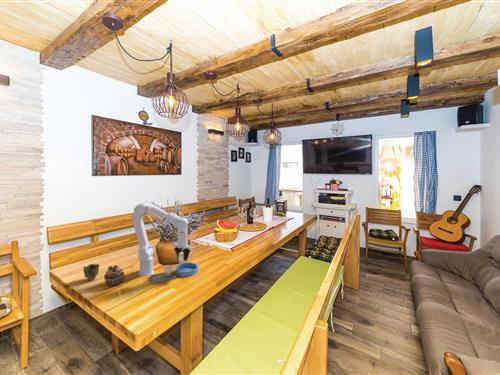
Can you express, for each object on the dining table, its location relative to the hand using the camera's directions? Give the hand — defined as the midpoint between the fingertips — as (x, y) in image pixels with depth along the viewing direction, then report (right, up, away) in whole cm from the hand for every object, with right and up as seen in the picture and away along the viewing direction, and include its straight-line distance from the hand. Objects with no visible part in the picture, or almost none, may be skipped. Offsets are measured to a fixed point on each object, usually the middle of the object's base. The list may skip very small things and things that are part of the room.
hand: (182, 259), depth 138 cm
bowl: (+2, -9, +2) cm, 9 cm away
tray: (-10, -9, -7) cm, 15 cm away
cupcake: (-34, -9, -14) cm, 38 cm away
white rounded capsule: (0, -2, 0) cm, 2 cm away
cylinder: (-8, -9, -4) cm, 12 cm away
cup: (-49, -9, -10) cm, 51 cm away
